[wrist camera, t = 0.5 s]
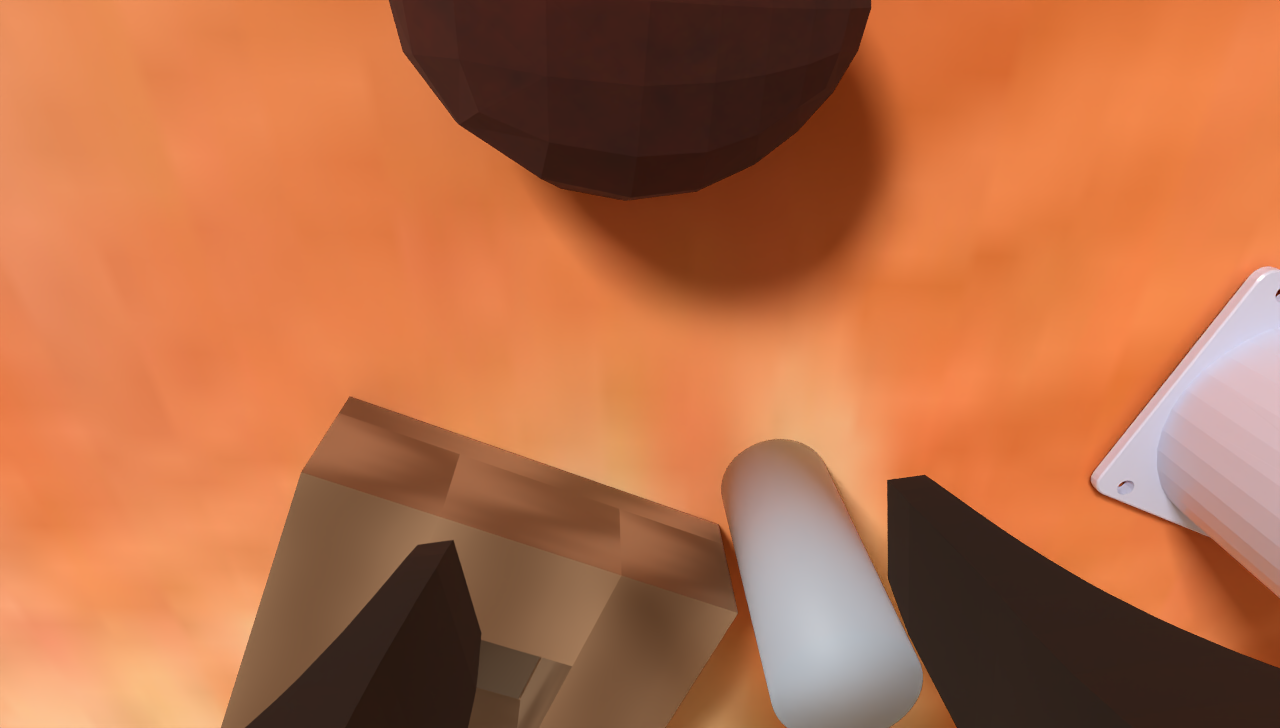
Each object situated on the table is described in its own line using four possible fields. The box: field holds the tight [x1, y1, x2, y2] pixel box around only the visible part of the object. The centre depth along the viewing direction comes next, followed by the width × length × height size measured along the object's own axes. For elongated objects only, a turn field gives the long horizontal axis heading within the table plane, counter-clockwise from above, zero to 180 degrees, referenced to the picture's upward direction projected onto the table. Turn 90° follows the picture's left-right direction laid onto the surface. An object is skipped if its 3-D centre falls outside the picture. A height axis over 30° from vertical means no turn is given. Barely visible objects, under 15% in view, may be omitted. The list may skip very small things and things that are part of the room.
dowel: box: [721, 439, 923, 728], centre depth 21 cm, size 3×3×8 cm
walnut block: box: [221, 397, 738, 728], centre depth 24 cm, size 12×12×4 cm
